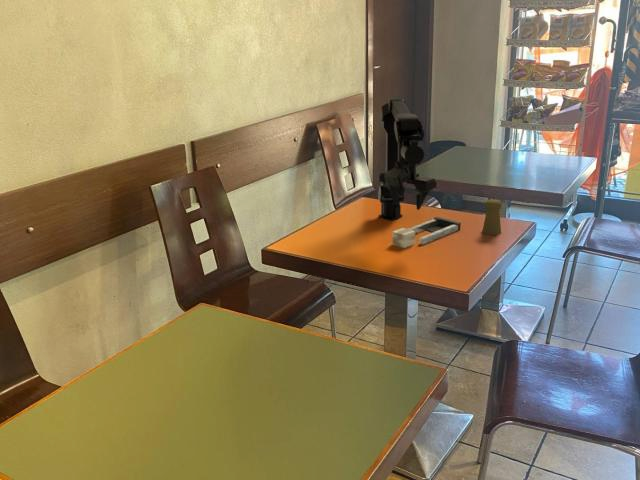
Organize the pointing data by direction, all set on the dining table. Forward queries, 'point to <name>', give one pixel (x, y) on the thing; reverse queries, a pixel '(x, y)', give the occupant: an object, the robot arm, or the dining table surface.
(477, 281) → the dining table surface
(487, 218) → the olive tapered tower
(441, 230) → the trap channel
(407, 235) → the cream block
